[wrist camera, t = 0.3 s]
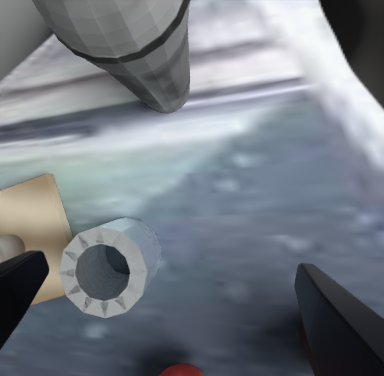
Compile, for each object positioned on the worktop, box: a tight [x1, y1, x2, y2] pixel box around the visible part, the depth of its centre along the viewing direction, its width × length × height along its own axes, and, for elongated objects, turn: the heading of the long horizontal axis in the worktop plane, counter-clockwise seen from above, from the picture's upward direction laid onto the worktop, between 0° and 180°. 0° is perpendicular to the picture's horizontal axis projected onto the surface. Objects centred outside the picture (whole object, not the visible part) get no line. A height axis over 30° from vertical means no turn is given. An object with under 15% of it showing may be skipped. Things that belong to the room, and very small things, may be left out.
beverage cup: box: [32, 0, 190, 113], centre depth 12 cm, size 7×7×20 cm
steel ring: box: [59, 217, 162, 318], centre depth 20 cm, size 7×7×5 cm
